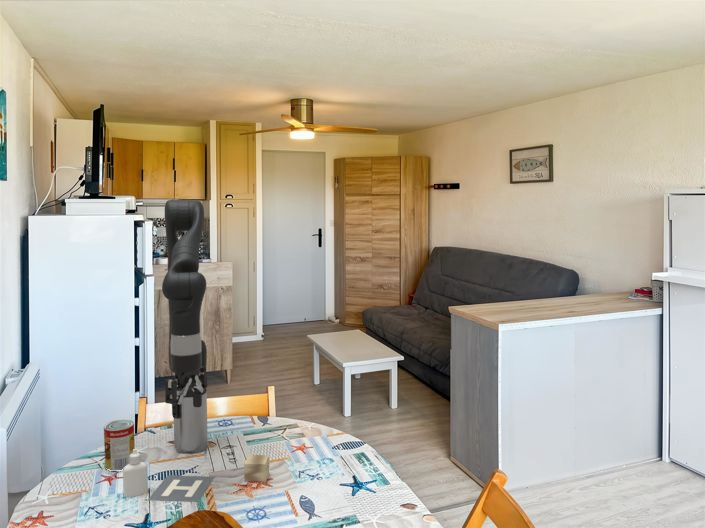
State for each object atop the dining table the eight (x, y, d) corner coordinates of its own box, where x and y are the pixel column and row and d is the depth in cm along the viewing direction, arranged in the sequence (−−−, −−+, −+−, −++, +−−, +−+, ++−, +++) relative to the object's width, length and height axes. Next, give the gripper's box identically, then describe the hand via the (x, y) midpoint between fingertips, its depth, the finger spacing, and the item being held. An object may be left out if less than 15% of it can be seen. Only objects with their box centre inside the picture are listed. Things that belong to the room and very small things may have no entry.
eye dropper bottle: (127, 491, 140) (126, 446, 139) (150, 490, 140) (148, 445, 139) (121, 499, 136) (119, 453, 135) (144, 499, 136) (142, 453, 135)
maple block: (244, 483, 144) (244, 463, 144) (249, 473, 150) (249, 454, 149) (264, 484, 144) (264, 464, 144) (269, 474, 149) (269, 455, 149)
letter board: (147, 502, 134) (147, 500, 134) (167, 477, 147) (167, 475, 147) (198, 504, 134) (198, 501, 134) (215, 478, 147) (215, 476, 147)
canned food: (131, 457, 160) (130, 417, 159) (138, 467, 153) (136, 426, 152) (102, 463, 155) (101, 423, 154) (108, 474, 149) (106, 432, 148)
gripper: (181, 358, 131) (182, 424, 132) (214, 345, 144) (215, 404, 145) (155, 356, 133) (157, 420, 134) (190, 343, 146) (191, 401, 148)
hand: (187, 412), depth 140 cm, fingers open, 8 cm apart
